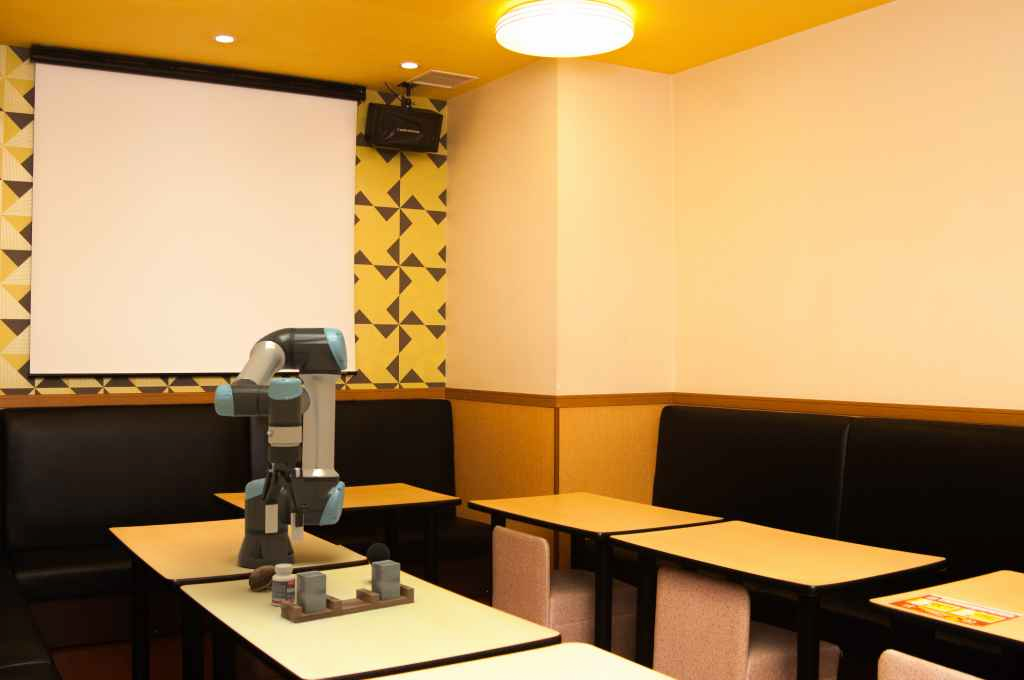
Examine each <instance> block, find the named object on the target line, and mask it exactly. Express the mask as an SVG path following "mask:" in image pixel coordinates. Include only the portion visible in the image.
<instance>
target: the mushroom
mask: <svg viewBox="0 0 1024 680" xmlns="http://www.w3.org/2000/svg"><path fill="white" fill-rule="evenodd" d="M275 574H276V572H275V567H274V566H261V567H259V568H254V570H253V571H252V572H251V574H250V575H249V577H248V586H249V588H250V589H251V590H252V591H254V592H258V591H261V590H262V589H267V590H269V589H272V577H273V576H274V575H275Z"/></svg>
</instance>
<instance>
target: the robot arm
mask: <svg viewBox="0 0 1024 680" xmlns="http://www.w3.org/2000/svg"><path fill="white" fill-rule="evenodd" d="M347 354H348V353H347V346H346V341H345V337H344V334H343V332H342V331H341V329H339V328H333V327H331V328H330V327H285V328H281V329H280V328H279V329H277V330H274V331H272V332H270V333H268V334H266V335H264V336H263V337H261V338H259V340H258V341H256V342H255V343H254V345H253V346H252V348H251V349H250V352H249V358H248V360H247V362H246V363H245V365H244V367H243V368H242V369H241V370H240V372H239V374H238V375H237V377H236V379H235V380H234V382H233V383H232V384H230V383H227V384H220V385H218V386H217V387H216V388H215V392H214V401H213V402H214V409H215V412H216V413H217V415H219V416H224V417H268V425H267V426H268V430H267V431H266V434H267V436H268V441H267V442H268V443H269V446H268V447H267V461H268V462H269V463H267V465H266V466H267V467H266V475H265V477H264V478H263V477H262V478H258V479H254V480H251V481H249V482H248V483H247V484H246V485H245V490H244V492H245V493H244V537H243V540H242V543H241V545H240V548H239V552H238V555H237V565H238V566H239V565H240V567H242V566H244V567H243V568H246V567H251V568H250V569H257V568H259V567H261V566H274V567H275V566H276V565H278V564H290V563H293V562H294V561H295V559H296V558H295V556H296V555H295V551H294V548H293V544H292V543H295V542H304V526H305V525H306V526H312V525H314V526H315V525H316V526H317V525H318V526H325V525H327V526H328V525H334V524H336V523H337V522H338V521H339V520H340V517H341V515H342V511H343V506H344V501H345V493H346V492H345V491H346V490H345V488H346V485H345V482H343V481H341V480H340V474H339V473H338V472H337V471H336V470H335V431H336V430H335V425H336V424H335V422H336V383H337V382H338V381H339V380H340V379H341V377H342V371H345V370H347V369H348V355H347ZM281 370H283V371H284V370H293V371H294V370H297V371H298V377H299V378H297V377H279V378H278V377H274V375H275V374H277V373H278V372H279V371H281ZM302 381H303V384H302ZM303 385H304V386H303ZM302 415H303V418H302ZM302 419H303V421H302ZM302 422H303V423H302ZM302 425H303V427H302ZM301 443H302V446H301V445H300V444H301ZM301 461H302V466H301V467H296V463H299V462H301ZM289 525H290V535H289ZM294 563H295V562H294ZM294 563H293V564H294Z"/></svg>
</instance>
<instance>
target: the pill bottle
mask: <svg viewBox="0 0 1024 680" xmlns="http://www.w3.org/2000/svg"><path fill="white" fill-rule="evenodd" d="M293 570H294V567H293V564H278V565H276V566H275V572H276V574H275V575H274V576H273V577H272V587H271V604H272V606H275V607H281V602H282V601H289V602H292V603H294V604H296V575H295V574H293Z"/></svg>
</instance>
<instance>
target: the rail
mask: <svg viewBox="0 0 1024 680" xmlns="http://www.w3.org/2000/svg"><path fill="white" fill-rule="evenodd" d="M370 586H371V590H370V589H367V588H365V587H362V588H357V589H355V590H356V591H355V594H356V595H355V597H354V598H348V599H340V598H336V597H335V596H333V595H330V594H328V593H327V574H326V573H323V572H321V571H318V570H311V571H303V572H297V573H296V587H295V603H292V602H289V601H282V602H281V606H280V617H282V618H283V619H285V620H288V621H290V622H291V623H294V624H299V623H305V622H309V621H316V620H323V619H327V618H332V617H334V618H335V617H338V616H344V615H350V614H356V613H360V612H367V611H372V610H378V609H384V608H389V607H390V608H391V607H396V606H399V605H400V606H401V605H406V604H411V603H415V588H413V587H411V586H409V585H405V584H402V583H401V563H400V562H398V561H397V562H396V561H394V560H391V559H389V560H386V561H379V562H372V567H371V585H370Z"/></svg>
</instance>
